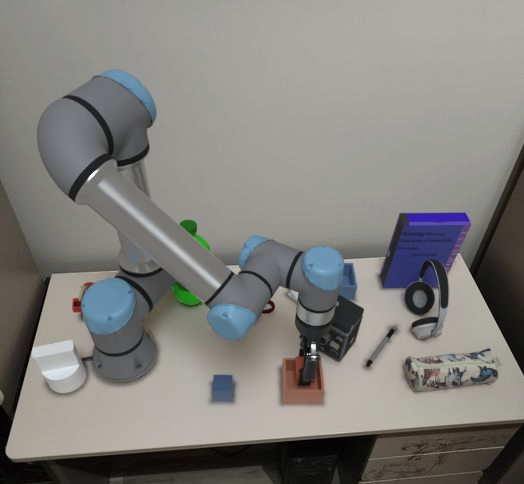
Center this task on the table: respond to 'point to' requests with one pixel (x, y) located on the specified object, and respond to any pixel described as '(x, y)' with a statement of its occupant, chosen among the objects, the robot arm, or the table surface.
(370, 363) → the pen
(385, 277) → the blue book
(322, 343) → the camera
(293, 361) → the clay bin
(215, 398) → the blue block
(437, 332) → the headphones
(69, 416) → the table surface
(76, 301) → the toy fire truck
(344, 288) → the blue bin
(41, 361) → the base with upright slab
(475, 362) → the pencil case
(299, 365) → the terracotta block
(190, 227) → the plastic bottle
